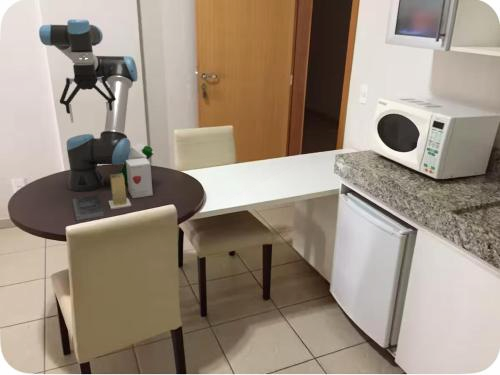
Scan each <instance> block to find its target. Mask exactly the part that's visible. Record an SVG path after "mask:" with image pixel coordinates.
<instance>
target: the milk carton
mask: <svg viewBox="0 0 500 375" xmlns="http://www.w3.org/2000/svg"><path fill="white" fill-rule="evenodd" d="M130 148H131V150H130V153H129V155H128V158H127V160H131V159H140V158H146V159H147V160H148V161H149V162H150V160H151V159H152V157H153V155H154V154H155V152H154V151H153V148H152V147H150V146H148V145H145V144H144V143H143V142H139V143H137V144H135V145H133V146H131V147H130ZM119 173H122V174H123V176H124V181H125V184H127V185H128V178H127V168H126V163H125V164H122V168H121V170H120V172H119Z"/></svg>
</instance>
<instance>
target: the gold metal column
mask: <svg viewBox="0 0 500 375" xmlns="http://www.w3.org/2000/svg"><path fill="white" fill-rule="evenodd" d="M109 181H110V183H109V184H110V190H111V197H112V198H111V201H112V200H113V204H114V206H119V205H126V204H127V200H126V198H127V193H126V182H125V181H124V176H123V174H122V173H120V172H119V173H114V174H113V173H111V174H109Z"/></svg>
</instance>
